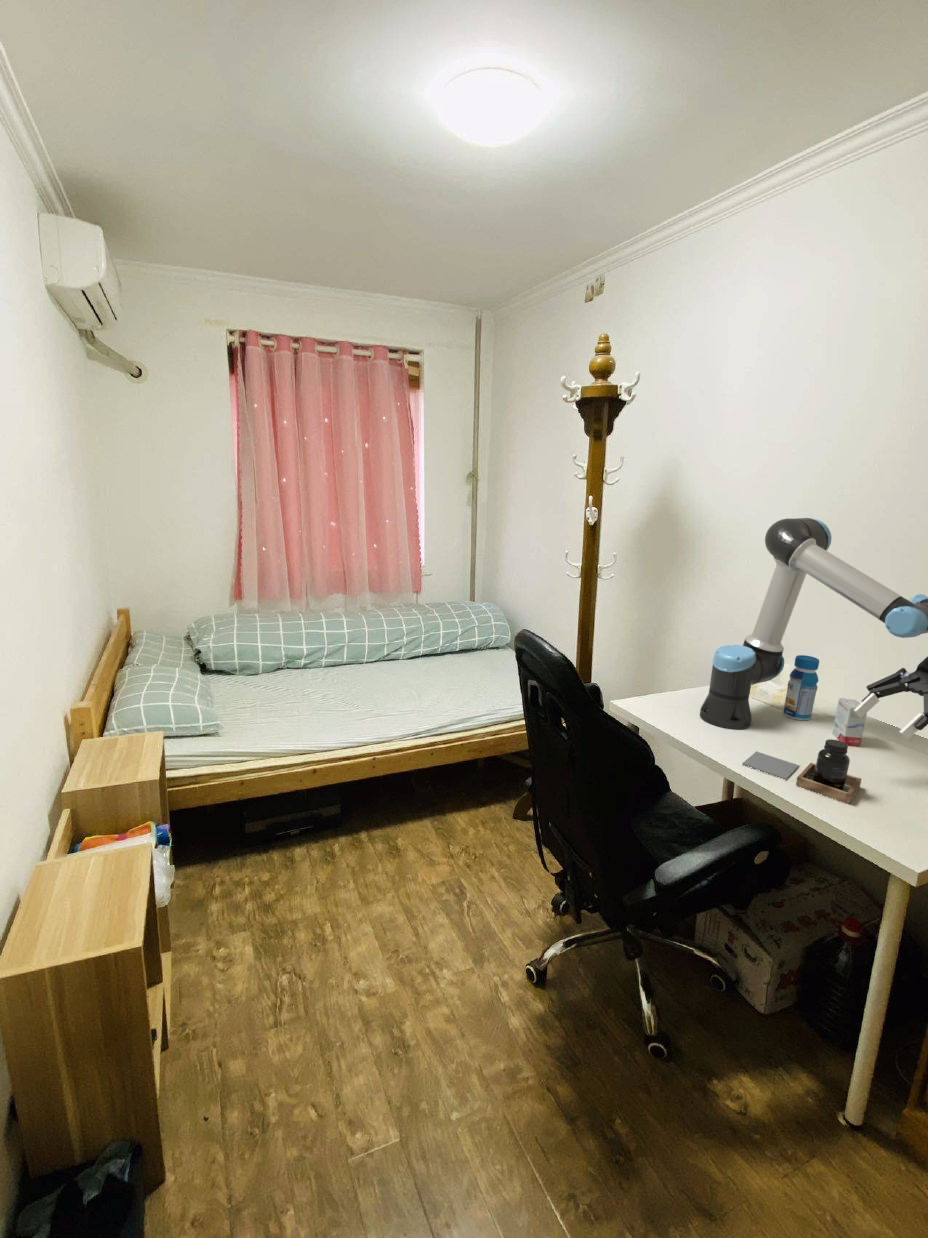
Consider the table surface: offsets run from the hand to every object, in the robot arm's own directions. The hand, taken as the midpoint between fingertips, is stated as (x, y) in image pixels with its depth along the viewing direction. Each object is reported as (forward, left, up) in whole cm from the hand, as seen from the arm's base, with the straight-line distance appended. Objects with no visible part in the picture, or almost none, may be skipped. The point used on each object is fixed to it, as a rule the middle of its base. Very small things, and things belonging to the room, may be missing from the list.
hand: (878, 724), depth 150 cm
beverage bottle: (-27, +37, -17) cm, 49 cm away
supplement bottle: (-7, -9, -17) cm, 20 cm away
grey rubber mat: (-21, -8, -17) cm, 27 cm away
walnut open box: (-7, -9, -17) cm, 20 cm away
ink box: (-11, +28, -17) cm, 35 cm away
